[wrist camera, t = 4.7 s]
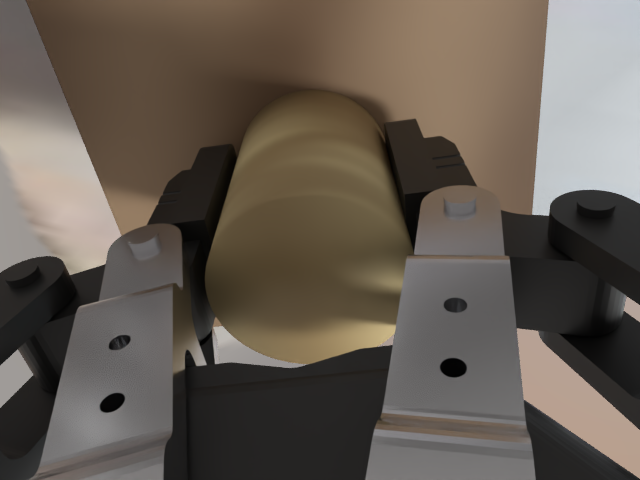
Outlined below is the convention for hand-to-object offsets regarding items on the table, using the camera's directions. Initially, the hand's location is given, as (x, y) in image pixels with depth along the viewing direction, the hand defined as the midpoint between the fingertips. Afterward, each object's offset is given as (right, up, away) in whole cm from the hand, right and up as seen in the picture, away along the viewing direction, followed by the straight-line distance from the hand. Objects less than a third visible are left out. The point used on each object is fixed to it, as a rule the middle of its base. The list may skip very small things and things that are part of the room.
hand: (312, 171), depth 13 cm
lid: (0, +2, +2) cm, 3 cm away
